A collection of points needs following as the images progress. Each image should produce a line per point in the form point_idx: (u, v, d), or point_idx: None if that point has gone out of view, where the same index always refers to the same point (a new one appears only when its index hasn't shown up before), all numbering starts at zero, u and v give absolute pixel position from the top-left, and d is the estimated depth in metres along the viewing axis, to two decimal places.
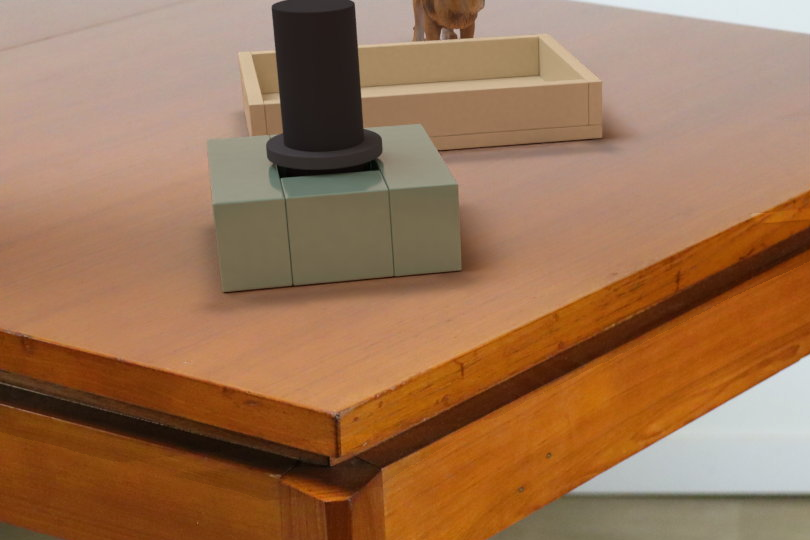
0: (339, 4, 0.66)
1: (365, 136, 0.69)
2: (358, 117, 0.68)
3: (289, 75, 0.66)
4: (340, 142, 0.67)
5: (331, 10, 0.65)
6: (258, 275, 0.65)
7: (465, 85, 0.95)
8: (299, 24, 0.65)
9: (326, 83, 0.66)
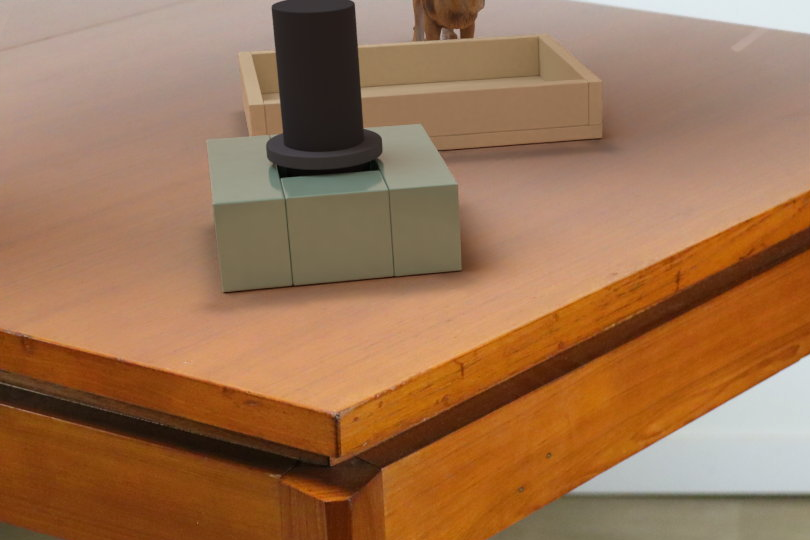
0: (339, 4, 0.66)
1: (365, 136, 0.69)
2: (358, 117, 0.68)
3: (289, 75, 0.66)
4: (340, 142, 0.67)
5: (331, 10, 0.65)
6: (258, 275, 0.65)
7: (465, 85, 0.95)
8: (299, 24, 0.65)
9: (326, 83, 0.66)
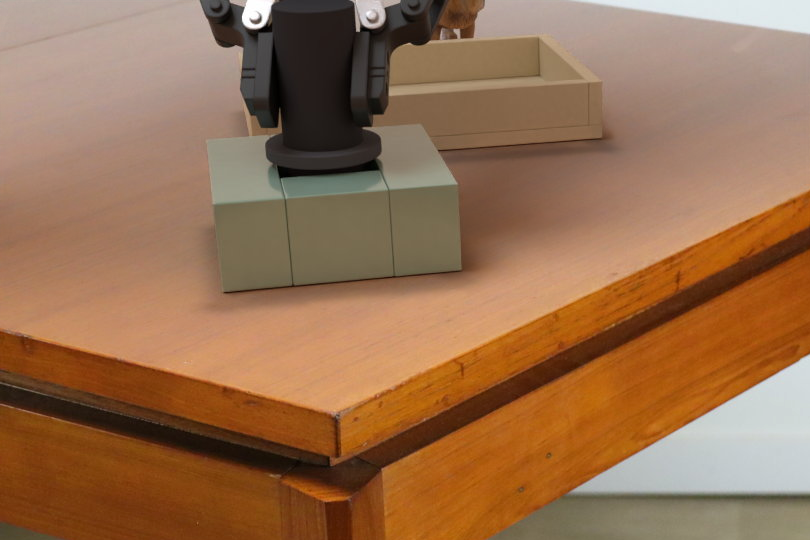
0: (339, 4, 0.66)
1: (364, 136, 0.69)
2: None
3: (289, 75, 0.66)
4: (339, 142, 0.67)
5: (330, 10, 0.65)
6: (258, 275, 0.65)
7: (465, 85, 0.95)
8: (298, 24, 0.65)
9: (325, 83, 0.66)
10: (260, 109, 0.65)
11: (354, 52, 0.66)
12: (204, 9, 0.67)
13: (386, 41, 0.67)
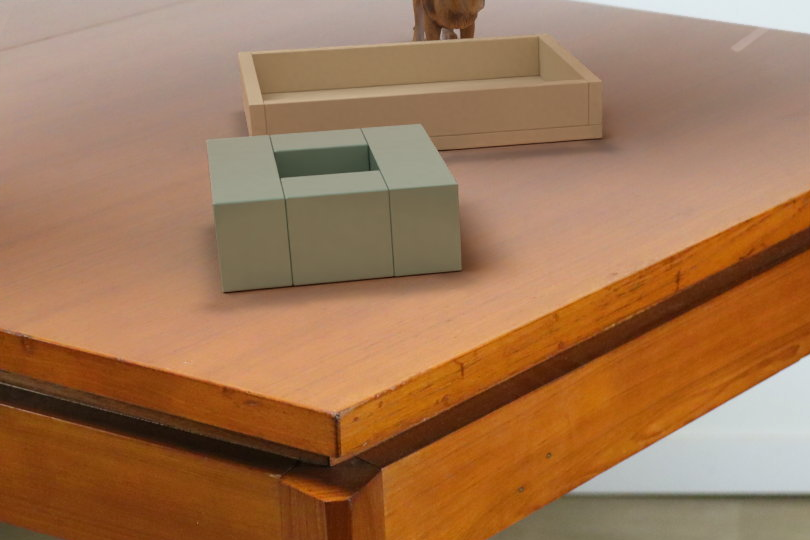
0: None
1: None
2: None
3: None
4: None
5: None
6: (258, 275, 0.65)
7: (465, 85, 0.95)
8: None
9: None
10: None
11: None
12: None
13: None
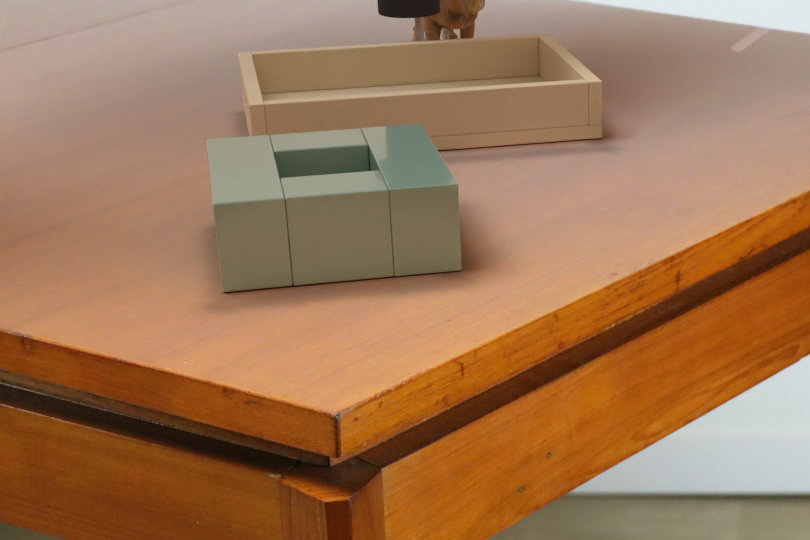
0: None
1: None
2: None
3: None
4: None
5: None
6: (258, 275, 0.65)
7: (465, 85, 0.95)
8: None
9: None
10: None
11: None
12: None
13: None
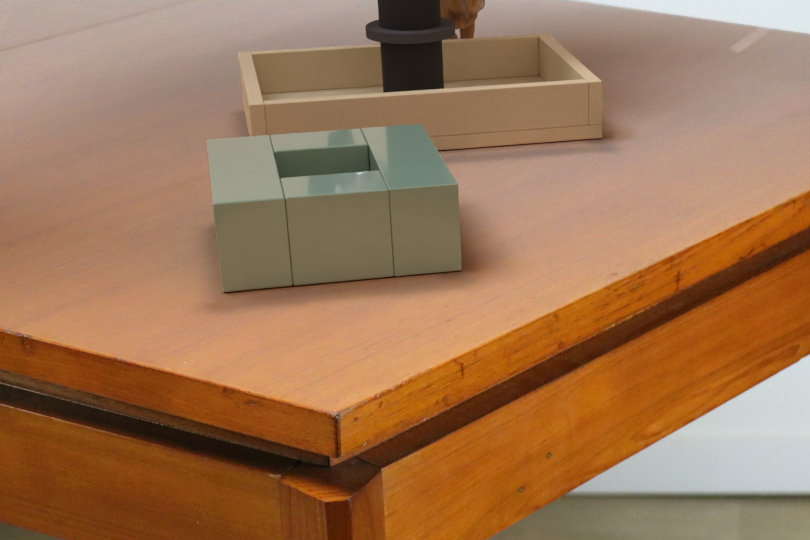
0: None
1: (441, 21, 0.89)
2: (437, 5, 0.87)
3: None
4: (424, 23, 0.87)
5: None
6: (258, 275, 0.65)
7: (465, 85, 0.95)
8: None
9: None
10: None
11: None
12: None
13: None
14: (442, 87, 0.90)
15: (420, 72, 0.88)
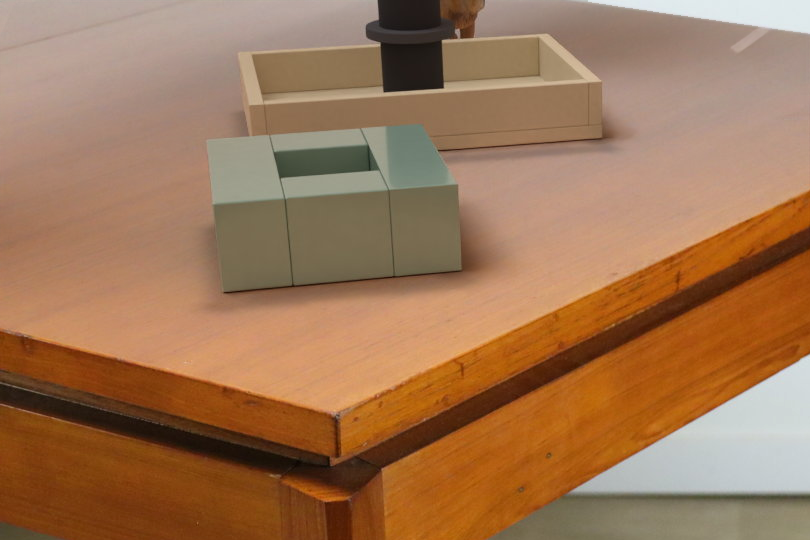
0: None
1: (441, 21, 0.89)
2: (437, 5, 0.87)
3: None
4: (424, 23, 0.87)
5: None
6: (258, 275, 0.65)
7: (465, 85, 0.95)
8: None
9: None
10: None
11: None
12: None
13: None
14: (442, 87, 0.90)
15: (420, 72, 0.88)
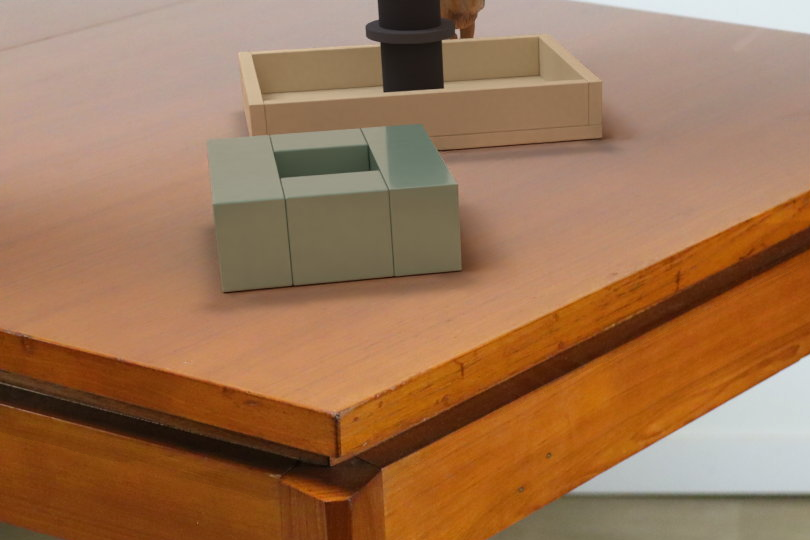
0: None
1: (441, 21, 0.89)
2: (437, 5, 0.87)
3: None
4: (424, 23, 0.87)
5: None
6: (258, 275, 0.65)
7: (465, 85, 0.95)
8: None
9: None
10: None
11: None
12: None
13: None
14: (442, 87, 0.90)
15: (420, 72, 0.88)
